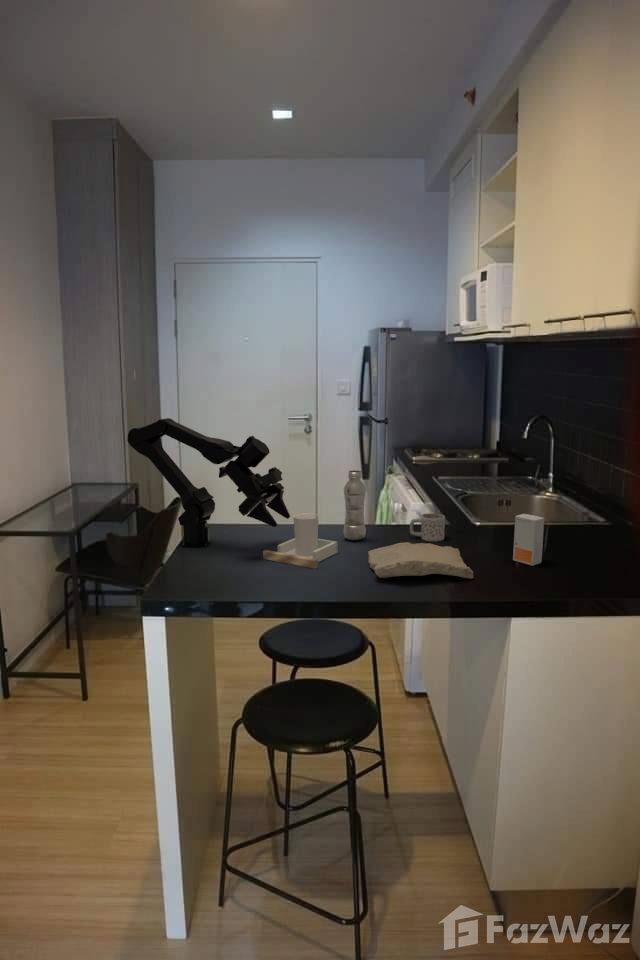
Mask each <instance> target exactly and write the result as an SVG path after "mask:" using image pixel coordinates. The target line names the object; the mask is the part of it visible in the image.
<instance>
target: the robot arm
mask: <svg viewBox="0 0 640 960" xmlns="http://www.w3.org/2000/svg"><path fill="white" fill-rule="evenodd" d="M164 436H167V437H170V438H171V439H173V440H176V441H177V442H180V443H182V444H184V445H185V446H188V447H190V448H192V449H194V450H197V451H198V452H199V453H200V454H201V455H202V457H203V458H205V459H206V460H207V461H209V462H210V463H212V464H214V465H221V464H224V463H227V464H226V465H225V466H221V467H219V468H218V470H219V471H218V478H220V479H221V478H223V477H227V476H228V478H229V479H230V480H231V482H233V484H234V485H235V486H236V487H237V489H236V491H237V492H238V493H242V494H243V495H244V496H245V497H246V498H245V499H244V500H243V501H242V502H241V503H240V504H239V505H238V512H239V513H240V514H241V515H242V516H243V517H245V516H246V517H247V518H252V519H254V520H258V522H262V523H264V524H266V525H269V526H271V527H274V528H276V527H277V526H278V522H277V521H276V520H275V518H274V517H273V515H272V514H271V512H270V511H269V510H268V508H269V509H271V510H272V511H274V512H275V513H277V514H278V515H280V516H282V517H283V518H284V519H287V520H289V519H290V518H291V514H290V513H289V510H288V509H287V506H286V504H285V501H284V499H283V496H284V493H285V487H284V486H283V485H282V484H281V483H280V482H282V481H283V477H282V475H283V472H282V471H281V469H280V468H277V467H276V466H273V467H271V468H269V469H268V471H267V473H266V474H264V475H261V474H260V473H258V472H257V473H255V472H253V471H252V469H250V468H253V469H254V468H257V466H259V464H260V463H262V462H263V460H264V459H266V458H267V456H269V454H270V449H269V446H267V444H266V443H265V442H263V441H261V440H260V439H259V438H256V437H255V436H254V435H250V436H248V437H247V439H246V440H245V441H244V443H243V444H242V445H241V446H238V445H234V443H232V442H231V441H229V440H225V439H221V438H217V437H210V436H206V435H204V434H202V433H200V432H198V431H196V430H194V429H192V428H190V427H187V426H185V425H184V424H181V423H179V422H177V421H175V420H174V419H172V418H169V417H167V418H160V419H158V420H157V421H155V422H153V423H151V424H148V425H145V426H139V427H138V426H137V427H134V428H131V429H130V430H129V431H128V433H127V439H126V441H127V443H128V444H129V446H130V447H131V448H132V449H133V450H134V451H136V452H137V453H138V454H140V455H141V456H144V457H145V458H148V460H149V461H150V462H151V463H152V464H153V465H154V467H155V468H156V469H157V470H158V472H159V473H160V474H161V475H162V476H163V477H164V479H165V480H166V481H167V482H168V484H169V485H170V486H171V487H172V489H173V490H174V491H175V492H176V493H177V494H178V496H179V497H180V501H181V502H180V503H181V506H182V508H183V510H184V511H183V512H182V513H181V515H180V516H179V517H178V519H177V520H178V522H179V525H180V526H183V527H182V529H183V543H182V547H206V546H207V545H208V543H209V542H210V541H211V535H210V534H211V533H210V532H211V531H210V526H208V521H209V520H210V519H211V516H212V514H213V513H214V512H215V510H216V501H214V496H213V495H212V494H210V492H208V489H207V488H206V487H205V486H202V487H200V488H198V487H196V486H195V485H194V484H193V482H191V480H190V479H189V478H188V477H187V476H186V474H185V473H184V472H183V470H181V469H180V468H179V466H178V465H177V464H176V463H175V461H174V460H173V459H172V458H171V456H170V455H169V454H168V453H167V451H166V450H165V449H164V447H163V443H162V439H161V438H162V437H164ZM234 458H235V460H233V459H234Z"/></svg>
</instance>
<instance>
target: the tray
mask: <svg viewBox="0 0 640 960" xmlns="http://www.w3.org/2000/svg"><path fill="white" fill-rule="evenodd" d="M338 542H339V541H334V540H328V539H322V538H318V543H317V550H315V551H313V552H312V553H313V555H309V556H302V555H298V554H296V551H295V537H294V538H291V539H289V540H287V541H284V542H282V543H280V544H278V545H277V552H280V553H285V554H291V555H296V556H302V557H307V558H312V559H318V563H319V562H321V561H322V562H323V560H325V559H327V558H329V557H332V556H333V555H336V554H337V553H338V552H339V551H338V548H339V547H338V544H339V543H338Z"/></svg>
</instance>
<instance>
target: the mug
mask: <svg viewBox="0 0 640 960" xmlns="http://www.w3.org/2000/svg"><path fill="white" fill-rule="evenodd" d="M445 519H446V515H444V514H440V513H434V512H433V513H432V512H430V513H429V512H428V513H423V514H421V517H419V518H418V517H417V518H413V519H411V520H410V522H409V533H410V535H411V536H416V537H420V539H421V540H424V541H427V542H441V541H444V539H445V521H446V520H445ZM415 523H420V525H421V529H420V531H414V524H415Z"/></svg>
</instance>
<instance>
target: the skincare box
mask: <svg viewBox="0 0 640 960" xmlns="http://www.w3.org/2000/svg"><path fill="white" fill-rule="evenodd" d="M514 519H515V520H514V533H513V536H514V537H513V552H512V553H513V555H512V560H513V561H515V562H518V563H522V564H526V565H529V566H532V567H533V566H535V565H539V564H541V563H542V561H543V560H542V559H543V558H542V557H543V543H544V529H545V517H542V516H537V515H534V514H533V515H532V514H527V513H521V514H517V515H515V517H514Z"/></svg>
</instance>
